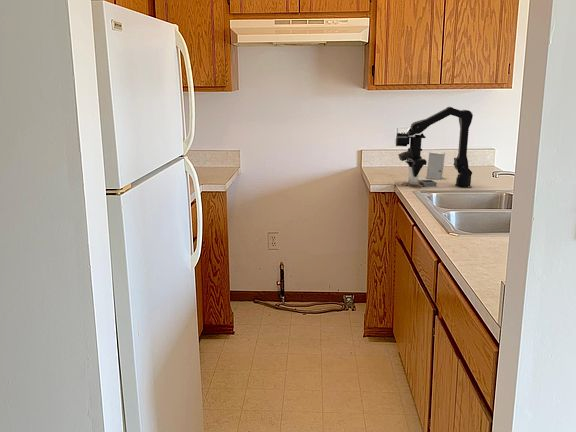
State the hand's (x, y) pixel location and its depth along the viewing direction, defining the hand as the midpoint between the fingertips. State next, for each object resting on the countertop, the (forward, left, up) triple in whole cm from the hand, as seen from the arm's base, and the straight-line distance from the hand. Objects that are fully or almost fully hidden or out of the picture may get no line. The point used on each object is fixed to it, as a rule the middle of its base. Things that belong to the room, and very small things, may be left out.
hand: (413, 175), depth 298 cm
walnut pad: (0, 0, -5) cm, 5 cm away
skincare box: (-20, -18, -5) cm, 28 cm away
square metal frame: (-8, 0, -5) cm, 9 cm away
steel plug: (0, 0, -4) cm, 4 cm away
